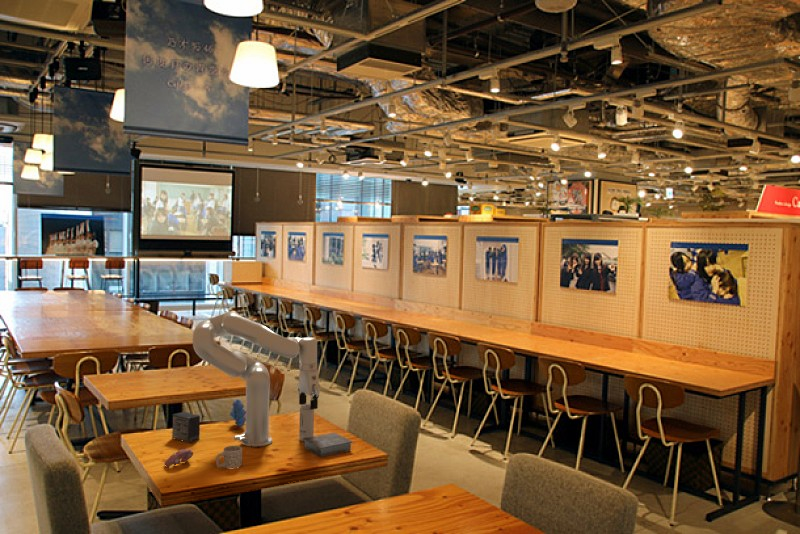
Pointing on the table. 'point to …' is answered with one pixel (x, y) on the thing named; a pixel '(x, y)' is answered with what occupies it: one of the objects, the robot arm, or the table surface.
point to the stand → (327, 444)
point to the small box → (186, 426)
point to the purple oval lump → (179, 457)
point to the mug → (230, 457)
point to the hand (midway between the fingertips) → (308, 406)
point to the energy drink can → (306, 422)
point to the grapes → (238, 413)
